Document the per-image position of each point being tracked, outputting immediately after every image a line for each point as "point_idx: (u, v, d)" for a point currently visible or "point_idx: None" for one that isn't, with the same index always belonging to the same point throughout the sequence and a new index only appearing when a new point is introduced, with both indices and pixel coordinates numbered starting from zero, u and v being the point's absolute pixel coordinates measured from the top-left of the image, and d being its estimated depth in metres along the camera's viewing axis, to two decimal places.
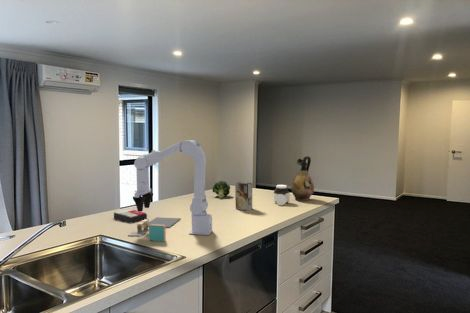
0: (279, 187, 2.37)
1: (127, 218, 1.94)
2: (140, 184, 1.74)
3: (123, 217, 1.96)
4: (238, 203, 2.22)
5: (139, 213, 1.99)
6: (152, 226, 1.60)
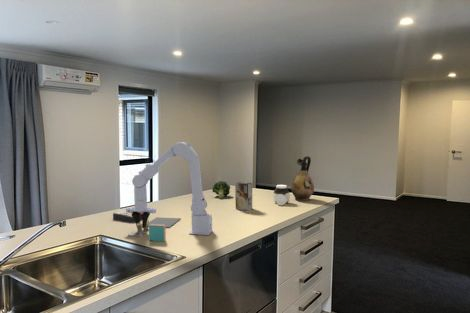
0: (279, 187, 2.37)
1: (128, 218, 1.94)
2: None
3: (124, 217, 1.95)
4: (238, 203, 2.22)
5: None
6: (152, 226, 1.60)
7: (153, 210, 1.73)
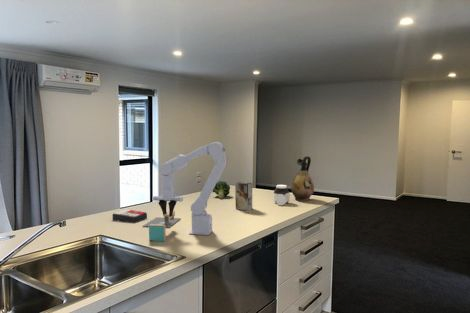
0: (279, 187, 2.37)
1: (130, 218, 1.94)
2: None
3: (125, 217, 1.95)
4: (238, 203, 2.22)
5: (140, 213, 2.00)
6: (152, 226, 1.60)
7: (180, 198, 1.71)
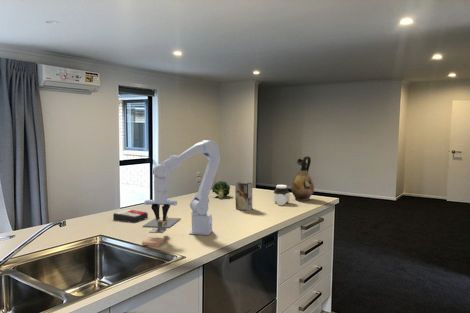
0: (279, 187, 2.37)
1: (130, 218, 1.94)
2: None
3: (125, 217, 1.96)
4: (238, 203, 2.22)
5: (140, 213, 2.01)
6: None
7: (174, 202, 1.63)
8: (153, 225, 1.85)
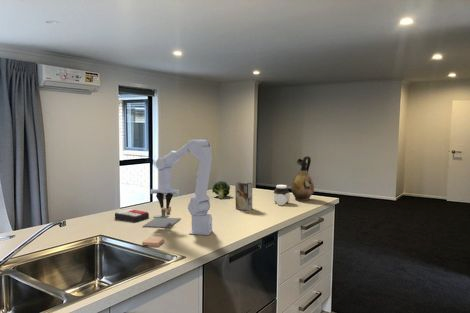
0: (279, 187, 2.37)
1: (131, 218, 1.95)
2: None
3: (126, 217, 1.96)
4: (238, 203, 2.22)
5: (141, 212, 2.01)
6: None
7: (176, 191, 1.83)
8: (153, 225, 1.85)
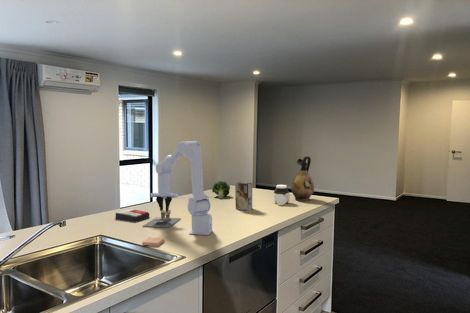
0: (279, 187, 2.37)
1: (131, 218, 1.95)
2: None
3: (126, 217, 1.97)
4: (238, 203, 2.22)
5: (142, 212, 2.01)
6: None
7: (175, 195, 1.91)
8: (153, 225, 1.85)
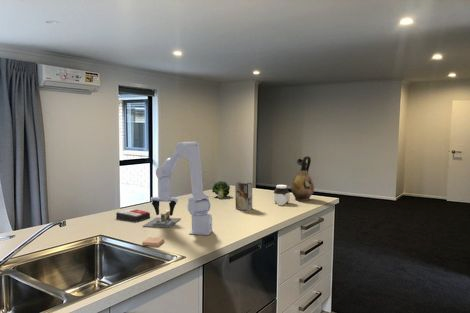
0: (279, 187, 2.37)
1: (131, 217, 1.95)
2: None
3: (127, 217, 1.97)
4: (238, 203, 2.22)
5: (142, 212, 2.01)
6: None
7: (175, 199, 1.91)
8: (153, 225, 1.85)
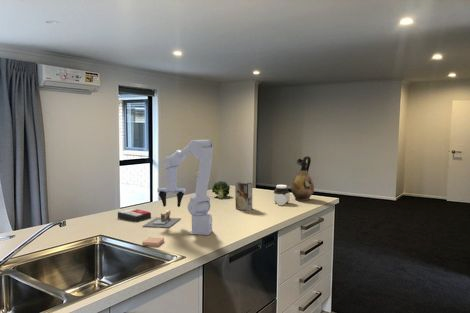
0: (279, 187, 2.37)
1: (132, 217, 1.96)
2: None
3: (128, 216, 1.98)
4: (238, 203, 2.22)
5: (143, 212, 2.02)
6: None
7: (183, 190, 1.85)
8: (153, 225, 1.85)
